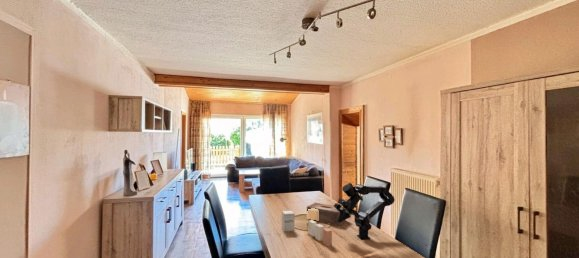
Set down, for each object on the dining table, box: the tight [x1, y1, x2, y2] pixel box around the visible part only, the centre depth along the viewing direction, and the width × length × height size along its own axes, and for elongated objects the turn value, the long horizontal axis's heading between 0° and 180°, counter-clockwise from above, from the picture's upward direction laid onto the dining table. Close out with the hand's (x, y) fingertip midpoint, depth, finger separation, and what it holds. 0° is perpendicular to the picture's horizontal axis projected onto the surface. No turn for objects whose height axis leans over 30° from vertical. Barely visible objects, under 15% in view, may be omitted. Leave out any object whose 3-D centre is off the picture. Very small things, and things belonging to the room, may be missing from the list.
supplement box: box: [281, 210, 295, 232], centre depth 180 cm, size 7×7×13 cm
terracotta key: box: [322, 227, 333, 247], centre depth 156 cm, size 3×5×8 cm, turn 28°
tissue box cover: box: [306, 202, 347, 227], centre depth 203 cm, size 26×14×10 cm, turn 57°
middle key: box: [314, 223, 325, 242], centre depth 163 cm, size 3×5×8 cm, turn 28°
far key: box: [307, 220, 318, 237], centre depth 170 cm, size 3×5×8 cm, turn 28°
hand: (338, 222), depth 160 cm, fingers closed
